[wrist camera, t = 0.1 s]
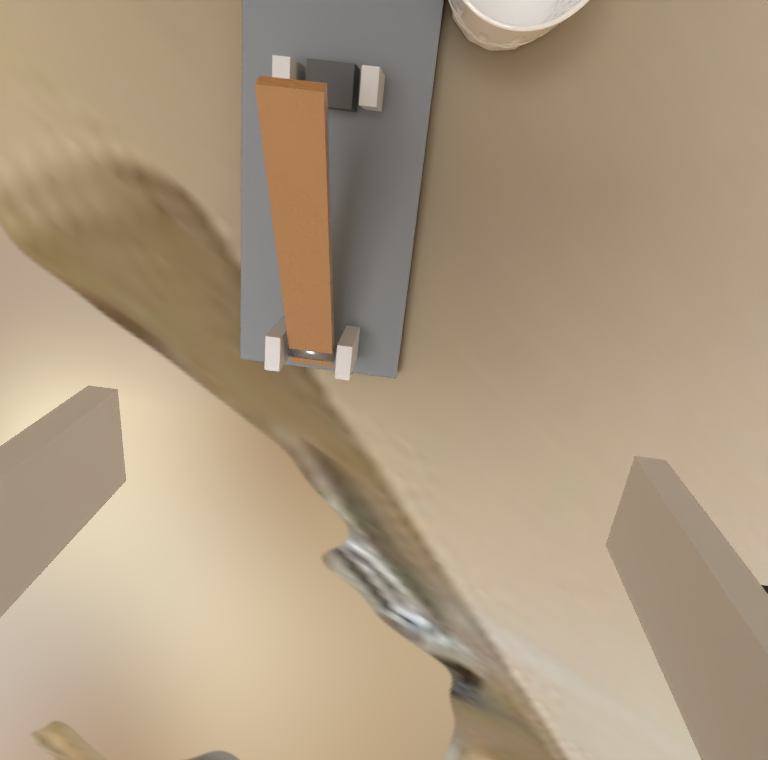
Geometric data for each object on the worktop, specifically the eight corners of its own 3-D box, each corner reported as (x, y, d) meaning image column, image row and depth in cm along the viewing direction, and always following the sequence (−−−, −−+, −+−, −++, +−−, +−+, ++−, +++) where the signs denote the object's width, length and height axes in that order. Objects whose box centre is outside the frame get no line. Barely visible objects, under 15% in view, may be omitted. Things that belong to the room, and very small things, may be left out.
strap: (258, 73, 24) (251, 85, 24) (330, 81, 24) (325, 94, 23) (292, 350, 39) (288, 363, 39) (336, 356, 39) (333, 369, 39)
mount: (250, -30, 34) (214, -65, 28) (444, -9, 33) (448, -41, 28) (246, 351, 43) (219, 381, 38) (397, 371, 43) (392, 403, 38)
